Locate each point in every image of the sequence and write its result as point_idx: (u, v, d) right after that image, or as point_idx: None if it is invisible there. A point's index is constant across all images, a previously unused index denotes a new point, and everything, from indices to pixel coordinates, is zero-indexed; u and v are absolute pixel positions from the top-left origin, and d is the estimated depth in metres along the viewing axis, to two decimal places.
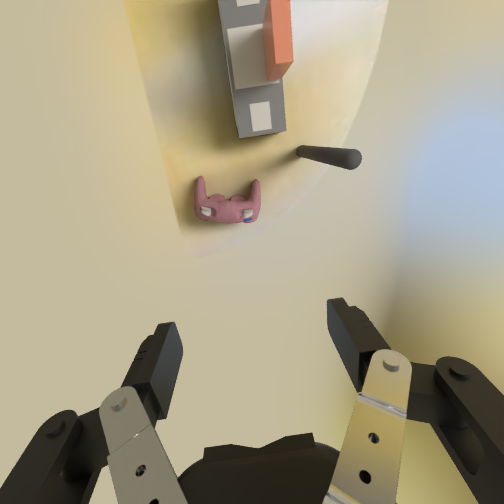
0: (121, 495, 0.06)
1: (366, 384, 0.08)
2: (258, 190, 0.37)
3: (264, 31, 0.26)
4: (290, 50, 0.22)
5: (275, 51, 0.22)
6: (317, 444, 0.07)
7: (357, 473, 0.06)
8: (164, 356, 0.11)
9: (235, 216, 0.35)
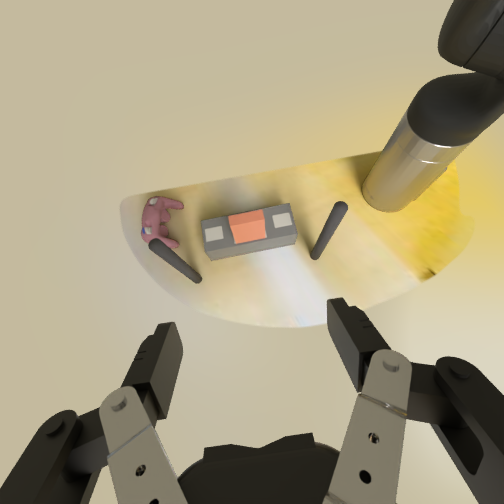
0: (121, 495, 0.06)
1: (366, 384, 0.08)
2: (168, 242, 0.46)
3: None
4: (235, 223, 0.35)
5: (234, 215, 0.36)
6: (317, 444, 0.07)
7: (357, 473, 0.06)
8: (164, 357, 0.11)
9: (146, 219, 0.44)
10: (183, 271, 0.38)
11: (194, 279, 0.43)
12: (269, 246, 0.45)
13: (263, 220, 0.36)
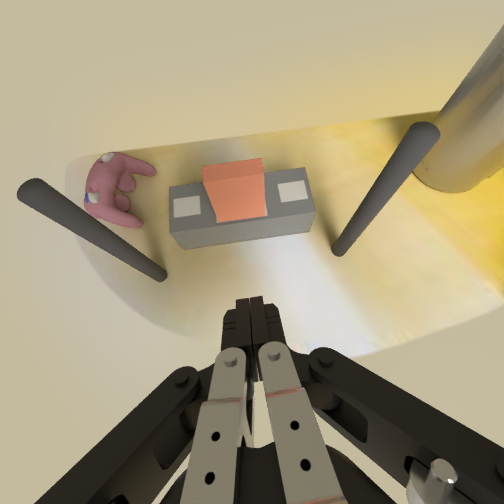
0: (195, 445, 0.07)
1: (265, 383, 0.08)
2: (124, 218, 0.31)
3: None
4: (212, 179, 0.20)
5: (212, 166, 0.21)
6: None
7: (299, 467, 0.06)
8: (251, 326, 0.12)
9: (91, 181, 0.30)
10: (124, 258, 0.23)
11: (151, 274, 0.28)
12: (271, 231, 0.30)
13: (262, 176, 0.20)
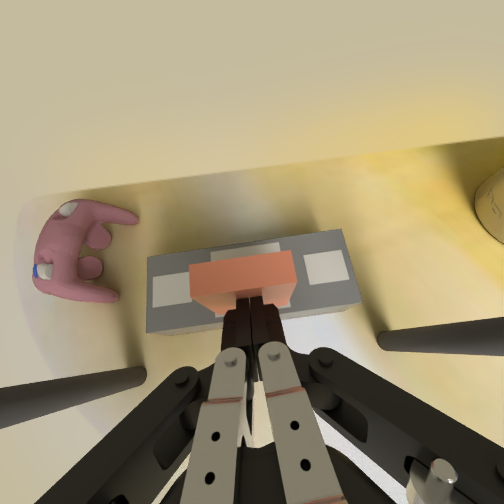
0: (195, 445, 0.07)
1: (265, 383, 0.08)
2: (92, 295, 0.22)
3: None
4: (207, 290, 0.12)
5: (207, 263, 0.12)
6: None
7: (299, 467, 0.06)
8: (251, 326, 0.12)
9: (42, 248, 0.21)
10: (64, 408, 0.14)
11: None
12: (293, 316, 0.21)
13: (293, 284, 0.12)
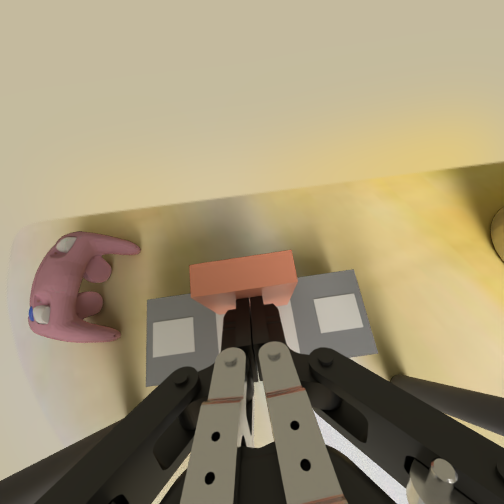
0: (196, 445, 0.07)
1: (265, 383, 0.08)
2: (92, 337, 0.21)
3: None
4: (207, 290, 0.12)
5: (208, 263, 0.12)
6: None
7: (299, 467, 0.06)
8: (251, 327, 0.12)
9: (38, 290, 0.19)
10: None
11: None
12: None
13: (293, 284, 0.12)
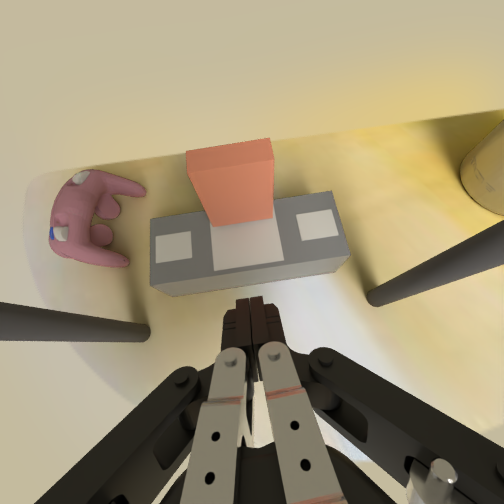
0: (195, 444, 0.07)
1: (265, 383, 0.08)
2: (104, 258, 0.24)
3: None
4: (200, 168, 0.14)
5: (201, 150, 0.15)
6: None
7: (299, 467, 0.06)
8: (251, 326, 0.12)
9: (57, 211, 0.22)
10: (77, 340, 0.15)
11: (127, 341, 0.20)
12: (287, 275, 0.23)
13: (271, 163, 0.14)
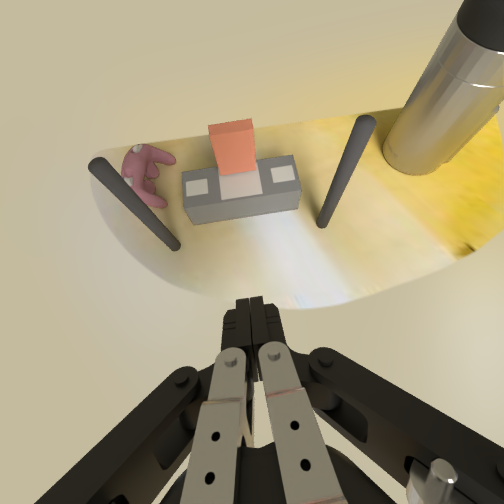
0: (195, 445, 0.07)
1: (265, 383, 0.08)
2: (153, 199, 0.37)
3: None
4: (216, 133, 0.28)
5: (216, 124, 0.29)
6: None
7: (299, 467, 0.06)
8: (251, 327, 0.12)
9: (126, 167, 0.36)
10: (150, 225, 0.29)
11: (169, 243, 0.34)
12: (266, 208, 0.37)
13: (252, 131, 0.28)
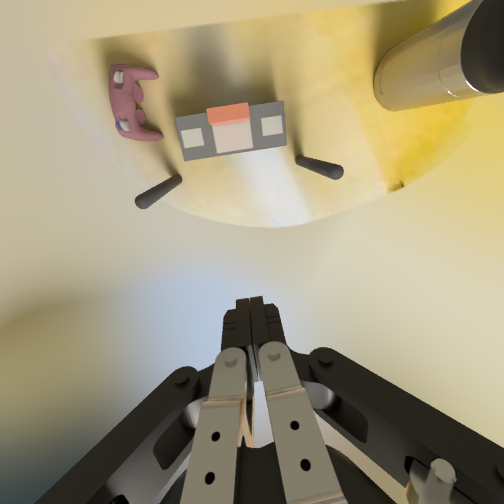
0: (195, 445, 0.07)
1: (265, 383, 0.08)
2: (151, 138, 0.39)
3: None
4: (215, 120, 0.30)
5: (213, 108, 0.30)
6: None
7: (299, 467, 0.06)
8: (251, 326, 0.12)
9: (118, 111, 0.35)
10: None
11: None
12: None
13: (248, 117, 0.30)
